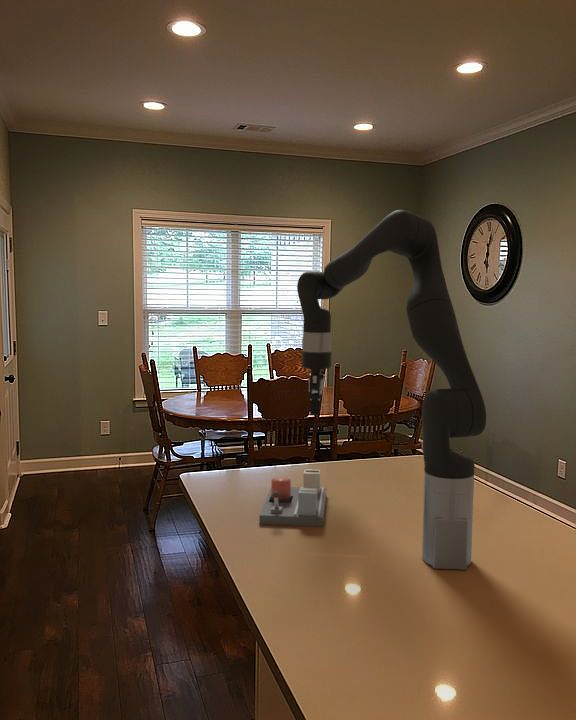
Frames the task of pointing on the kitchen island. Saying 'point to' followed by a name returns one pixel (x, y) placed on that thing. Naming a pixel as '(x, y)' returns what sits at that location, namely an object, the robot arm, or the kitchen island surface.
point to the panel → (291, 510)
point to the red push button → (281, 488)
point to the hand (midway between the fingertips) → (315, 411)
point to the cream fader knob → (312, 479)
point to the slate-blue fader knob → (307, 501)
